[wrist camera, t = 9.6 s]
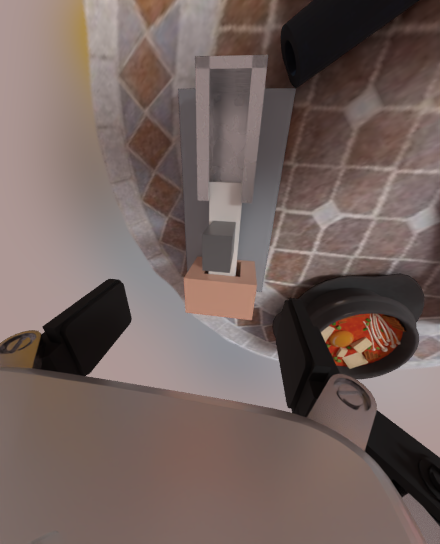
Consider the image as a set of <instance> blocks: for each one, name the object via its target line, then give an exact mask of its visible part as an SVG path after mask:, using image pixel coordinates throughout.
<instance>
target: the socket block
mask: <svg viewBox="0 0 440 544" xmlns="http://www.w3.org/2000/svg"><path fill="white" fill-rule="evenodd" d="M256 289H257V280H256V270H255V261H244V260H237V266H236V277H235V276H225V275H214V274H209V271H202V257H198V256H197V258H196V260H195V261H194V263H193V264H192V266H191V267H190V269H189V271H188V272H187V274H186V275H185V277H184V292H185V308H186V312H187V313H194V314H203V315H211V316H220V317H229V318H237V319H246V320H252V315H253V309H254V302H255V295H256Z"/></svg>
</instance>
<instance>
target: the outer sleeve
mask: <svg viewBox="0 0 440 544" xmlns="http://www.w3.org/2000/svg"><path fill="white" fill-rule="evenodd" d="M267 63H268V55H239V56H195V74H196V134H197V195H198V200H199V201H209V200H210V182H214V181H217V182H239V183H242V192H241V203H252V198H253V189H254V180H255V171H256V162H257V153H258V144H259V135H260V126H261V117H262V108H263V99H264V90H265V81H266V72H267Z"/></svg>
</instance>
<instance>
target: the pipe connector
mask: <svg viewBox="0 0 440 544" xmlns="http://www.w3.org/2000/svg"><path fill="white" fill-rule="evenodd" d="M418 1H419V0H313V1H312V2H311V3H310V4H308V5H307V6H306V7H305V8H304V9H303V10H301V11H300V12H299V13H298V14H297V15H295V16H294V17H293V18H292V19H291V20H290V21H288V22H287V23H286V24H285V25H284V26H283V27H282V31H281V49H282V56H283V60H284V63H285V66H286V70H287V73H288V76H289V79H290V82H291V84H292V85H293V86H294V87H295V88H297V87H299V86H300V85H301V84H303V83H304V82H306V81H307V80H308V79H310V78H311V77H313V76H314V75H315V74H317V73H318V72H320V71H321V70H322V69H324V68H325V67H327V66H328V65H329V64H331V63H332V62H334V61H335V60H336V59H338V58H339V57H341V56H342V55H343V54H345V53H346V52H348V51H349V50H350V49H352V48H353V47H355V46H356V45H357V44H359V43H360V42H362V41H363V40H364V39H366V38H367V37H369V36H370V35H371V34H373V33H374V32H376V31H377V30H378V29H380V28H381V27H383V26H384V25H385V24H387V23H388V22H390V21H391V20H392V19H394V18H395V17H397V16H398V15H399V14H401V13H402V12H404V11H405V10H406V9H408V8H409V7H411V6H412V5H413V4H415V3H416V2H418Z"/></svg>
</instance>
